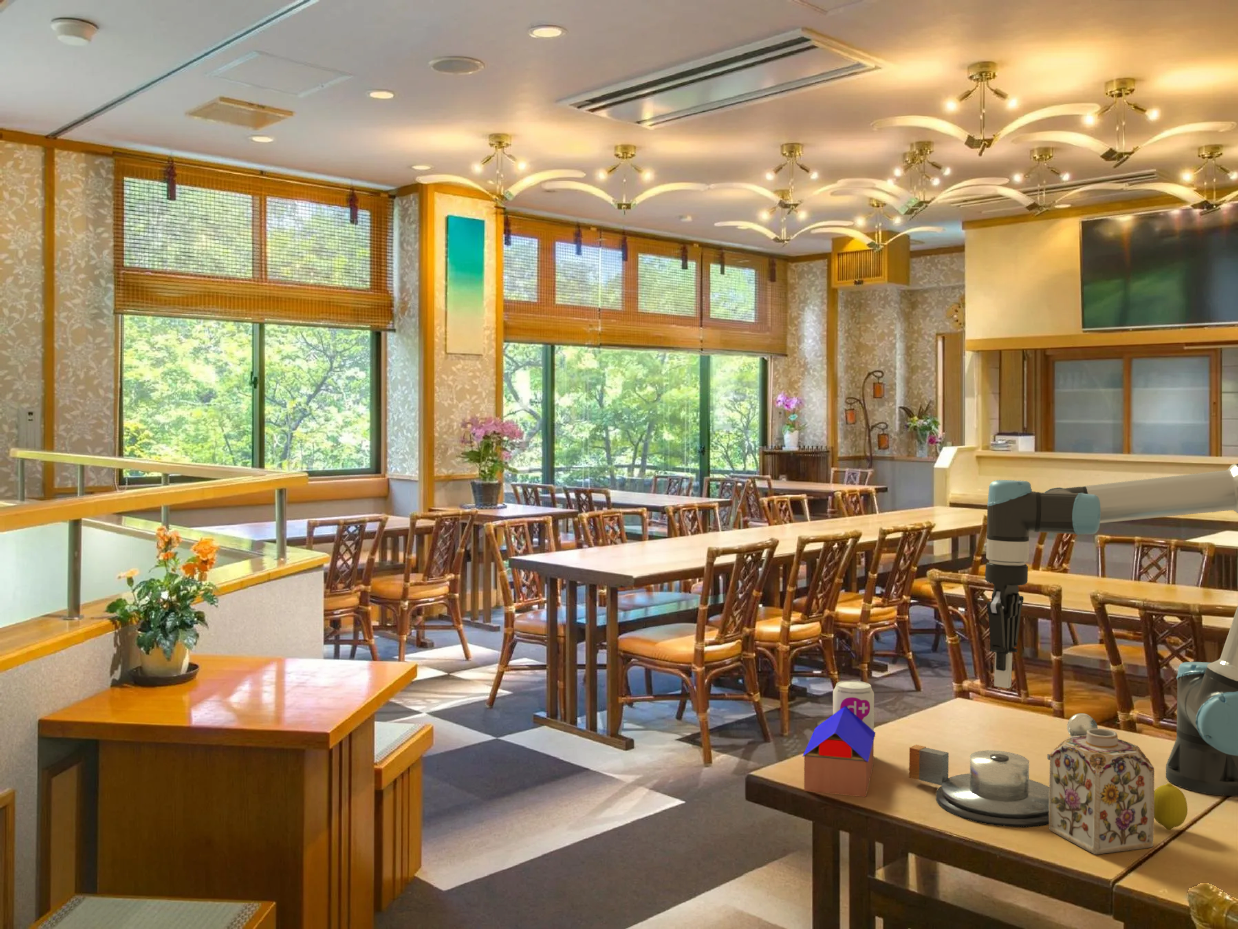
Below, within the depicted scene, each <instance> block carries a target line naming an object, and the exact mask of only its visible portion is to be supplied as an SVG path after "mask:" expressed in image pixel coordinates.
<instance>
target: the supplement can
mask: <svg viewBox="0 0 1238 929" xmlns="http://www.w3.org/2000/svg"><path fill="white" fill-rule="evenodd" d="M844 706H846V707H847V708H848V709H849V710H850V711H851V712H853V713H854V714H855V715H856V716H857V717H858V718H860V719H861V720H862V721H863V722H864V723H865V724H866V725H867V726H869V727H870V728H871V729H872V730H873V731H874V732H875V725H874V724H875V720H874V719H875V692H874V690H873V689H872V685H871V684H870V683H868V682H864V681H859V680H858V681H857V680H843V681H839V682H836V684H835V687H834V688H833V690H832V715H833V714H835V713H836V712H838V711H839V710H840V709H842V708H843V707H844ZM874 754H875V752H874V750H873V756H874Z"/></svg>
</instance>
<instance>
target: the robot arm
mask: <svg viewBox="0 0 1238 929" xmlns="http://www.w3.org/2000/svg"><path fill="white" fill-rule="evenodd" d="M986 504H987V512H986V513H987V514H986V515H987V516H986V542H985V543H984V545H983V546H984V548H986V552H985V553H986V556H985V557H986V559H987V560H988V561H987V562H986V563H985V575H984V576H985V579H984V580H985V581H986V582H987V583H990V584H992V585H993V591H992V594H991V601H987V603H986V609H987V615H988V616H987V617H988V630H989V631H988V632H989V644H990V645H989V646H990V647H989V651H990V652H992V653H994V676H993V677H994V678H993V679H994V680H993V686H994V687H996V688H997V687H998V688H1004V689H1010V688H1012V671H1013V653H1018V650H1019V648H1017V647H1018V640H1019V632H1020V622H1021V616H1022V615H1021V614H1022V607H1023V603H1024V599H1025V598H1024V595H1020V593H1019V591H1020V588H1019V586H1024V585H1027V583H1028V579H1029V578H1028V576H1029V575H1028V574H1029V566H1028V565H1027V564H1026V563H1028V562H1029V559H1030V558H1029V557H1030V555H1029V553H1030V532H1032V533H1053V534H1068V535H1069V534H1070V535H1077V536H1080V535H1094V534H1096V533H1098V531H1099V530H1100V526H1101V525H1100V524H1105V523H1113V522H1123V521H1124V522H1126V521H1132V520H1133V521H1134V520H1135V521H1137V520H1145V519H1146V520H1147V519H1154V518H1165V517H1166V518H1167V517H1177V516H1185V515H1196V514H1197V515H1198V514H1207V513H1217V512H1226V511H1227V512H1228V511H1229V512H1230V511H1234V512H1235V513H1236V514H1238V463H1233V464H1231V465H1230V466H1229V468H1227V470H1218V471H1217V470H1215V471H1208V472H1198V473H1190V474H1182V475H1181V474H1180V475H1171V476H1164V477H1161V476H1160V477H1154V478H1153V477H1152V478H1144V479H1136V480H1126V481H1116V482H1108V483H1100V484H1099V483H1098V484H1091V485H1085V486H1073V487H1066V488H1065V487H1053V488H1049V489H1047V490H1045V492H1040V491H1033V489H1032V485H1031V483H1030V482H1029V481H1027V480H1015V479H1014V480H1012V479H997V480H994V481H991V483H990V484H989V485H988V496H987V503H986ZM1224 642H1225V643H1224V646H1223V649H1222V651H1221V655H1220V658H1218V659H1217V660H1215V661H1212V662H1205V661H1203V662H1201V661H1184V662H1181V663H1180V664H1179V666H1178V668H1177V676H1176V681H1177V684H1176V685H1177V687H1176V688H1177V692H1176V696H1177V697H1176V738H1175V741H1174V744H1173V746H1172V749H1171V752H1170V755H1169V757H1168V759H1167V762H1166V764H1165V778H1166V779H1165V780H1167V782H1169V783H1171V784H1172V785H1174V786H1176V787H1180V788H1183V789H1185V790H1190V791H1193V792H1196V793H1197V792H1198V793H1201V794H1202V793H1203V794H1207V795H1216V796H1224V797H1225V796H1229V797H1230V796H1231V797H1232V796H1233V797H1234V796H1235V797H1237V796H1238V605H1237V607H1236V610H1235V613H1234V615H1233V618H1232V622H1231V625H1230V628H1229V632H1228V635H1227V637H1226V640H1225V641H1224Z"/></svg>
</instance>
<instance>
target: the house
mask: <svg viewBox="0 0 1238 929" xmlns="http://www.w3.org/2000/svg"><path fill="white" fill-rule="evenodd" d="M875 737H876V732H875V730H874V731H873V730H872V729H871V728H870V727H869V726H867V725H866V724H865V723H864V722H863V721H862V720H861V719H860V718H858V717H857V716H856V715H855V714H854V713H853V712H851V711H850V710H849V709H848V708H847V707H846V706H844V707H843V708H842V709H840V710H839V711H838V712H836V713H835V714H833V713H832V715H830V716H829V717H828V718H827V719H826V720H824V721H822V722H821V723H820V724H818V725H817V726H816V727H815V728H814V730H813V731H812V734H811V737H810V739H809V741H808V743H807V746H806V747H805V750H804V752H803V755H802V757H803V758H804V761H803V762H804V764H803V766H804V767H803V770H804V772H803V774H804V776H803V777H804V778H803V782H804V783H803V785H804V786H803V788H804V789H803V791H804V792H813V793H814V792H815V793H823V794H834V795H841V796H843V795H844V796H853V797H864V798H865V797H867V794H868V790H869V786H870V781H871V777H872V773H873V769H874V755H873V750H874V748H875V747H874V745H875V744H874V743H875V742H874V740H875Z"/></svg>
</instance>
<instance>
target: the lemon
mask: <svg viewBox="0 0 1238 929" xmlns="http://www.w3.org/2000/svg"><path fill="white" fill-rule="evenodd" d="M1187 816H1188V802H1187V799H1186V797H1185V794H1184V793H1183V791H1182V790H1181V789H1179V788H1178V786H1176V785H1174V784H1173V783H1171V782H1166V784H1162V785H1160V786H1157V788H1155V789H1154V821H1156V822H1157V823H1158V824H1160V825H1161V826H1163V828H1165V830H1167V831H1172V830H1173V829H1174V828H1177V827H1179V826H1182V824H1183V823H1184V822H1185V821H1186V819H1187Z"/></svg>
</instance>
